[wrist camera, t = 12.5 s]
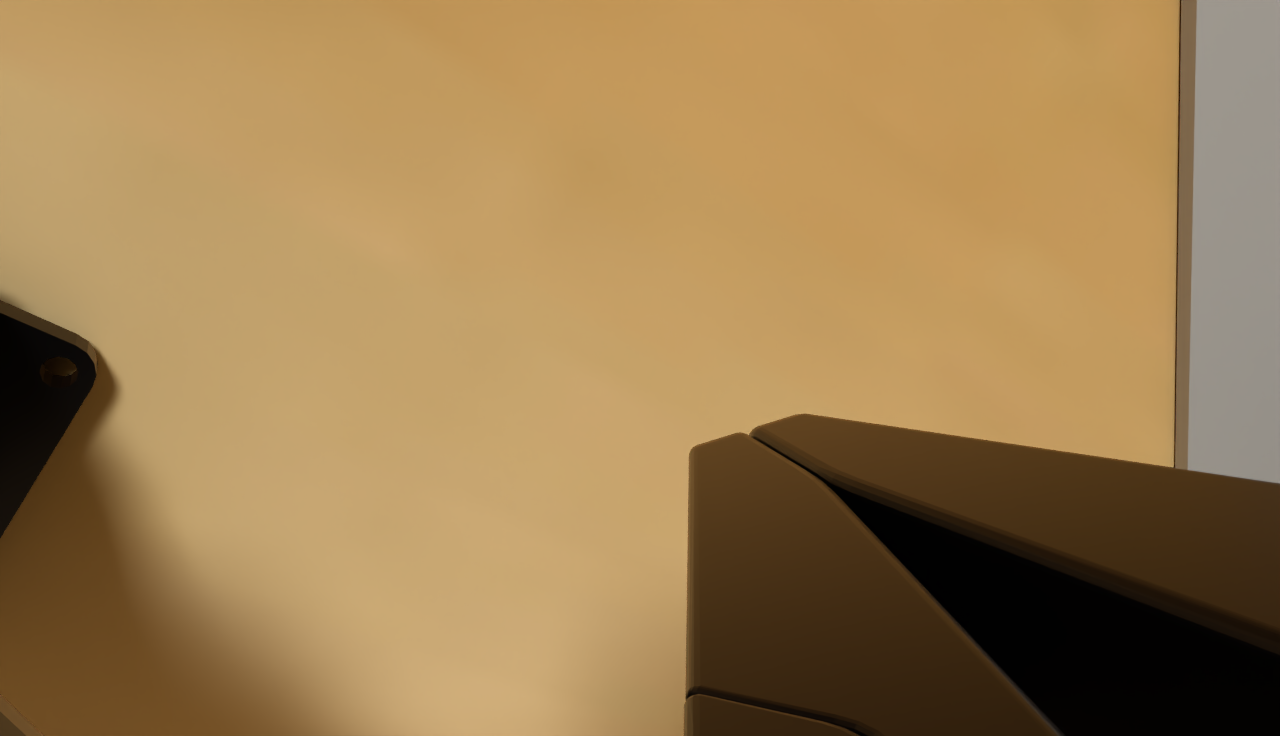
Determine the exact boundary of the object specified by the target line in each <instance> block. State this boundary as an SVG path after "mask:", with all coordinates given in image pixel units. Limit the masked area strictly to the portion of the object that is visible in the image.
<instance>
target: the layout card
mask: <svg viewBox="0 0 1280 736" xmlns="http://www.w3.org/2000/svg"><path fill="white" fill-rule="evenodd" d="M1175 468H1179V469H1186V470H1193V471H1199V472H1206V473H1213V474H1220V475H1227V476H1234V477H1240V478H1247V479H1254V480H1261V481H1268V482H1274V483H1280V0H1181V61H1180V137H1179V213H1178V289H1177V365H1176V442H1175Z"/></svg>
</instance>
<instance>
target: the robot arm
mask: <svg viewBox="0 0 1280 736" xmlns="http://www.w3.org/2000/svg"><path fill="white" fill-rule="evenodd" d="M54 357H63V358H68V359H69V360H70V361H72V362H73V363H75V365H76V367H77V370H76V371H75V372H74V373H73V374H71V375H67V376H63V377H62V376H56V375H52V374H51V373H50V372H48V371H47V370H45V368H44V365H43V363H44V362H45V361H46V360H48V359H50V358H54ZM97 365H98V363H97V357H96V352H95V350H94V349H93V347H92V346H91V344H90V343H89V342H88V341H87V340H85V339H84V338H82V337H81V336H79V335H78V334H76V333H73V332H71V331H69V330H67V329H64V328H62V327H60V326H58V325H55V324H53V323H51V322H48V321H46V320H44V319H42V318H39V317H37V316H35V315H32V314H30V313H28V312H26V311H23V310H21V309H19V308H16V307H14V306H12V305H10V304H7V303H5V302H3V301H0V538H1V536H2V535H3V533H4V531H5V530H6V528H7V526H8V525H9V523H10V521H11V520H12V518H13V516H14V515H15V513H16V512H17V510H18V508H19V507H20V505H21V503H22V502H23V500H24V498H25V497H26V495H27V493H28V492H29V490H30V488H31V487H32V485H33V484H34V482H35V480H36V479H37V477H38V475H39V474H40V472H41V470H42V469H43V467H44V465H45V464H46V462H47V461H48V459H49V457H50V456H51V454H52V452H53V451H54V449H55V447H56V446H57V444H58V442H59V441H60V439H61V438H62V436H63V434H64V433H65V431H66V429H67V428H68V426H69V424H70V423H71V421H72V419H73V418H74V416H75V415H76V413H77V411H78V410H79V408H80V406H81V405H82V403H83V401H84V400H85V398H86V396H87V395H88V393H89V392H90V390H91V388H92V387H93V384H94V381H95V378H96V373H97ZM0 736H44V735H43V734H42V733H41V732H40V731H39V730H38V729H37V728H36V727H35V726H33V725H32V724H31V723H30V722H29V721H28V720H27V719H26V718H25V717H24V716H23V715H22V714H21V713H20V712H19V711H18V710H17V709H16V708H14V707H13V706H12V705H11V704H10V703H9V702H8V701H7V700H6V699H5V698H4V697H3V696H2V695H1V694H0ZM684 736H1280V483H1274V482H1268V481H1261V480H1254V479H1247V478H1240V477H1234V476H1227V475H1220V474H1213V473H1206V472H1199V471H1193V470H1186V469H1179V468H1172V467H1165V466H1158V465H1152V464H1145V463H1138V462H1131V461H1124V460H1118V459H1111V458H1104V457H1097V456H1090V455H1083V454H1077V453H1070V452H1063V451H1056V450H1049V449H1043V448H1036V447H1029V446H1022V445H1015V444H1008V443H1002V442H995V441H988V440H981V439H974V438H968V437H961V436H954V435H947V434H940V433H933V432H927V431H920V430H913V429H906V428H899V427H893V426H886V425H879V424H872V423H865V422H858V421H852V420H845V419H838V418H831V417H824V416H818V415H811V414H798V415H793V416H790V417H787V418H783V419H780V420H777V421H774V422H770V423H767V424H764V425H761V426H758V427H756V428H754V429H753V430H752V431H751V432H750V434H749V435H747V434H745V433H735V434H732V435H728V436H725V437H722V438H719V439H715V440H712V441H709V442H706V443H703V444H699V445H696V446H695V447H693V448H692V449H691V451H690V454H689V493H688V563H687V633H686V702H685V705H684Z"/></svg>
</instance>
